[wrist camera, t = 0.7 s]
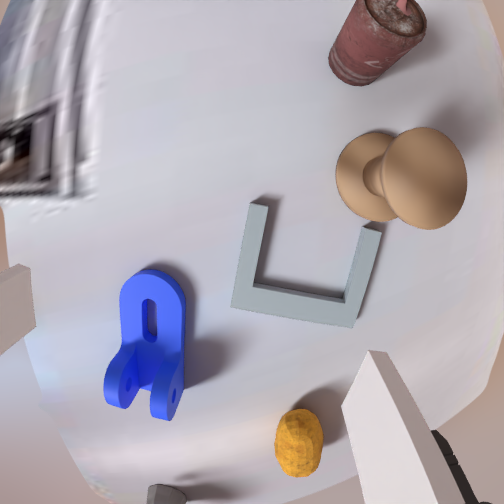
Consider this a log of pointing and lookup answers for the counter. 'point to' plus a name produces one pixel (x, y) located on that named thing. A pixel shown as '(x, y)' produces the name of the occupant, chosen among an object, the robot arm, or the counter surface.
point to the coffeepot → (165, 495)
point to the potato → (299, 443)
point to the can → (375, 39)
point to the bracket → (149, 345)
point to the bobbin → (403, 177)
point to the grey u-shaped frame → (296, 301)
